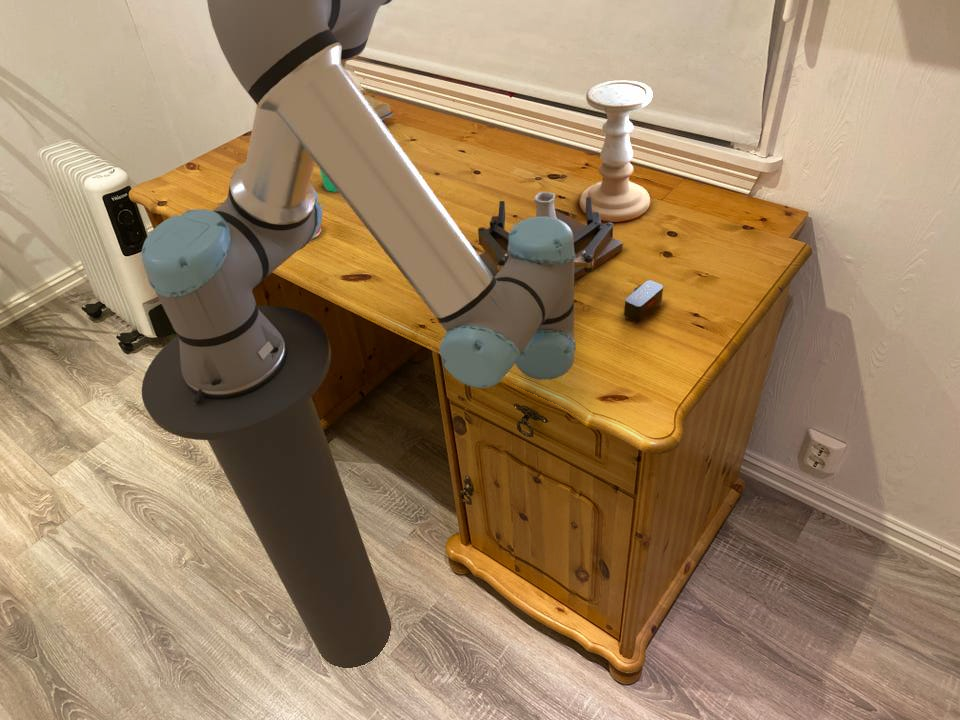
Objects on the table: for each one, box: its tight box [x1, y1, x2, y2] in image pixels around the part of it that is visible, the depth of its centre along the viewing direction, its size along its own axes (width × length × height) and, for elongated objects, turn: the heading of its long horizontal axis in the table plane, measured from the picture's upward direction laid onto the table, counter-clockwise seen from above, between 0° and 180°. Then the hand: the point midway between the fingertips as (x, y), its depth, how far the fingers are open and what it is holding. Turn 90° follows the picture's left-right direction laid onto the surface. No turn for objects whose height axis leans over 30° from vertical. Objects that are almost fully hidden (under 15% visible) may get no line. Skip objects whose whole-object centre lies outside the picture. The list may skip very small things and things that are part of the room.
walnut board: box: [478, 210, 624, 282], centre depth 116 cm, size 20×15×2 cm
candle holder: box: [579, 79, 653, 223], centre depth 120 cm, size 12×12×20 cm
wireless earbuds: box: [623, 279, 664, 323], centre depth 104 cm, size 5×7×3 cm, turn 136°
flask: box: [533, 191, 557, 219], centre depth 112 cm, size 7×7×10 cm
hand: (545, 206), depth 114 cm, fingers open, 13 cm apart
